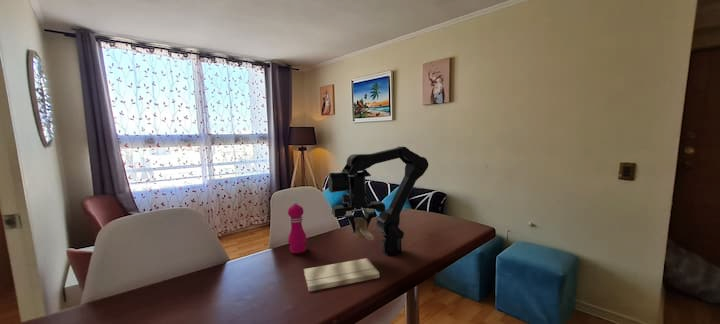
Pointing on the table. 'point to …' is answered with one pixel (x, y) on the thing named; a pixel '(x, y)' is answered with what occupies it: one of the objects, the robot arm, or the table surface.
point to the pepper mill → (296, 229)
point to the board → (339, 274)
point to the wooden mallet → (362, 229)
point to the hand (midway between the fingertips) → (359, 231)
